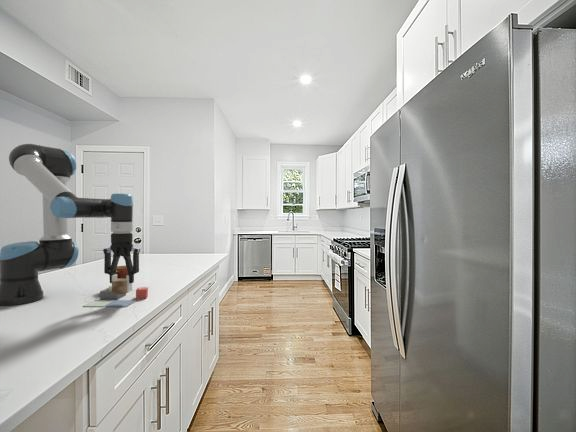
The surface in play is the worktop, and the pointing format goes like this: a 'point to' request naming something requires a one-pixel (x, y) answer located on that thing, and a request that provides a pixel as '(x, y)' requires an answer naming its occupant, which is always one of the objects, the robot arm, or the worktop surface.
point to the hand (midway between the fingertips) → (121, 291)
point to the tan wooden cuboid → (119, 286)
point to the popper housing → (109, 295)
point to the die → (142, 293)
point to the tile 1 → (99, 303)
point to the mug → (121, 272)
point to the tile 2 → (120, 303)
